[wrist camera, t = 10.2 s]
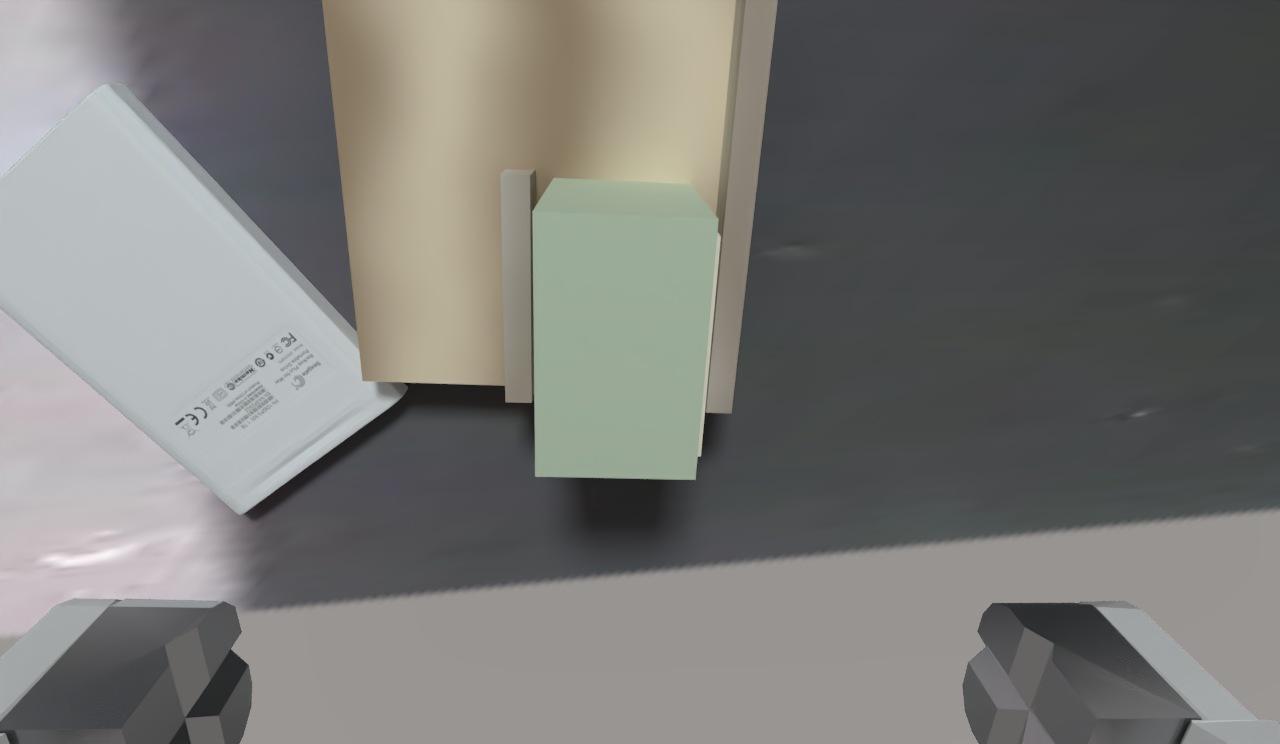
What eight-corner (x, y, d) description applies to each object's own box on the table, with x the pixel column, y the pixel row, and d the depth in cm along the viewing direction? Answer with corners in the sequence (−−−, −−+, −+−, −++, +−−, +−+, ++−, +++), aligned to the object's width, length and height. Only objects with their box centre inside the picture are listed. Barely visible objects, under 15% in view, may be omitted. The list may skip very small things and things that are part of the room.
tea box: (553, 382, 23) (535, 476, 17) (553, 177, 20) (532, 211, 15) (679, 385, 23) (701, 480, 18) (694, 184, 21) (725, 219, 15)
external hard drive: (135, 82, 21) (414, 382, 25) (-32, 239, 23) (255, 497, 27) (99, 81, 20) (401, 400, 24) (-78, 249, 21) (234, 522, 26)
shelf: (381, 358, 24) (345, 401, 21) (344, -33, 20) (290, -57, 17) (718, 370, 25) (734, 413, 22) (756, -7, 21) (784, -25, 17)
